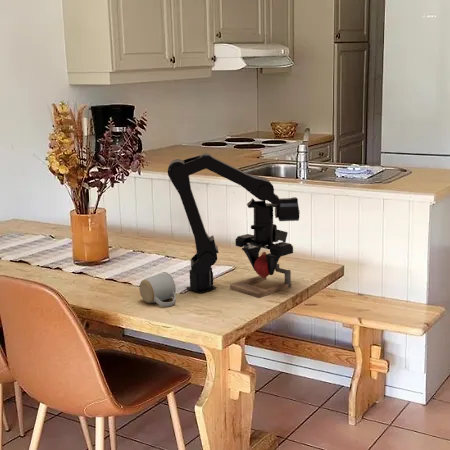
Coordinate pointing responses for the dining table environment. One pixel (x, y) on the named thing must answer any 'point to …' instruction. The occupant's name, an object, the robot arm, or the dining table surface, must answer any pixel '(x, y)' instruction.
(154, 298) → the ceramic mug
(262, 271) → the onion
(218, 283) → the dining table surface
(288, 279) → the walnut board
